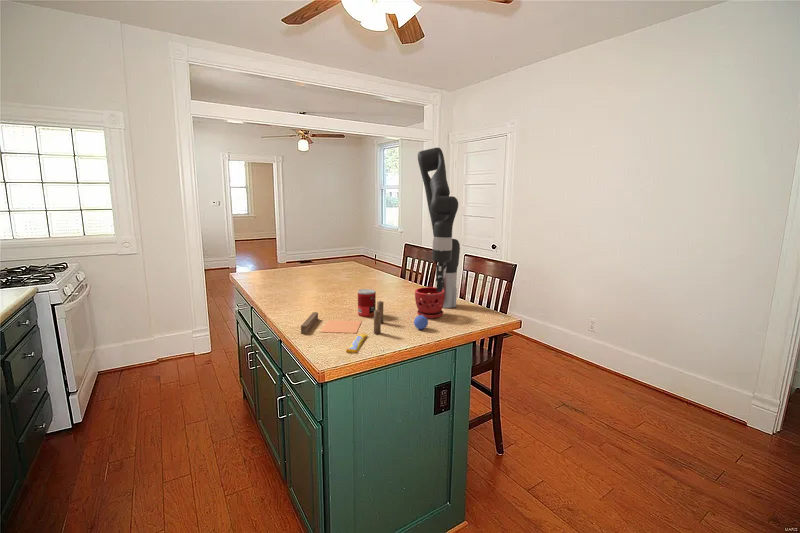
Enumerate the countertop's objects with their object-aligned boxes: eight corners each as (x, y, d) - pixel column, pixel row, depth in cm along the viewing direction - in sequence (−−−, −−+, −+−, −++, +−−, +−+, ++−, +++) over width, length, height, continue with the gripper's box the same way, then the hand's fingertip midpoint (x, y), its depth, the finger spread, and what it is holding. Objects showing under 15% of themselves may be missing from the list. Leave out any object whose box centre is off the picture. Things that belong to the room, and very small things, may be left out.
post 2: (380, 332, 147) (381, 309, 146) (380, 334, 145) (380, 311, 143) (374, 331, 147) (374, 309, 146) (373, 334, 145) (373, 311, 143)
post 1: (383, 321, 160) (383, 301, 158) (382, 323, 157) (383, 302, 155) (377, 321, 160) (377, 301, 158) (376, 323, 157) (376, 302, 156)
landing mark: (361, 321, 159) (361, 321, 159) (356, 333, 146) (356, 332, 145) (328, 320, 160) (328, 320, 160) (320, 332, 146) (320, 331, 146)
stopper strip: (318, 319, 162) (317, 312, 161) (306, 333, 144) (306, 326, 144) (313, 318, 162) (313, 312, 161) (301, 333, 144) (300, 326, 144)
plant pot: (427, 309, 178) (428, 285, 176) (449, 316, 169) (450, 290, 167) (408, 315, 169) (409, 289, 167) (430, 322, 160) (431, 294, 158)
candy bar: (357, 355, 126) (357, 350, 126) (345, 354, 127) (344, 349, 126) (368, 337, 143) (368, 333, 142) (357, 337, 143) (357, 332, 143)
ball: (427, 326, 154) (428, 313, 153) (428, 331, 149) (428, 317, 148) (413, 326, 154) (414, 313, 153) (413, 331, 149) (414, 317, 148)
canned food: (373, 318, 165) (373, 293, 163) (355, 316, 166) (355, 292, 164) (377, 313, 172) (377, 289, 170) (360, 311, 174) (360, 288, 172)
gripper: (434, 246, 154) (432, 284, 156) (430, 250, 140) (428, 292, 142) (452, 246, 152) (450, 286, 155) (451, 251, 138) (448, 294, 141)
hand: (440, 289), depth 149 cm, fingers open, 8 cm apart
